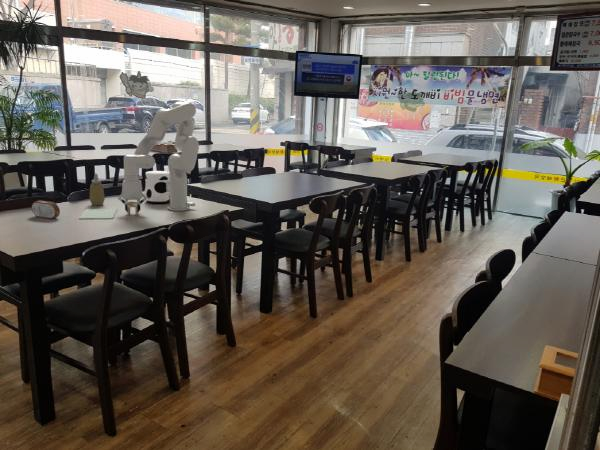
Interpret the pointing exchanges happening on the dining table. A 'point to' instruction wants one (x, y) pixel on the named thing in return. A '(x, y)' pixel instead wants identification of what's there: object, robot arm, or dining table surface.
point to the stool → (132, 204)
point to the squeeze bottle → (96, 192)
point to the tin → (45, 209)
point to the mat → (98, 214)
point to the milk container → (157, 186)
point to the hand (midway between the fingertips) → (132, 211)
